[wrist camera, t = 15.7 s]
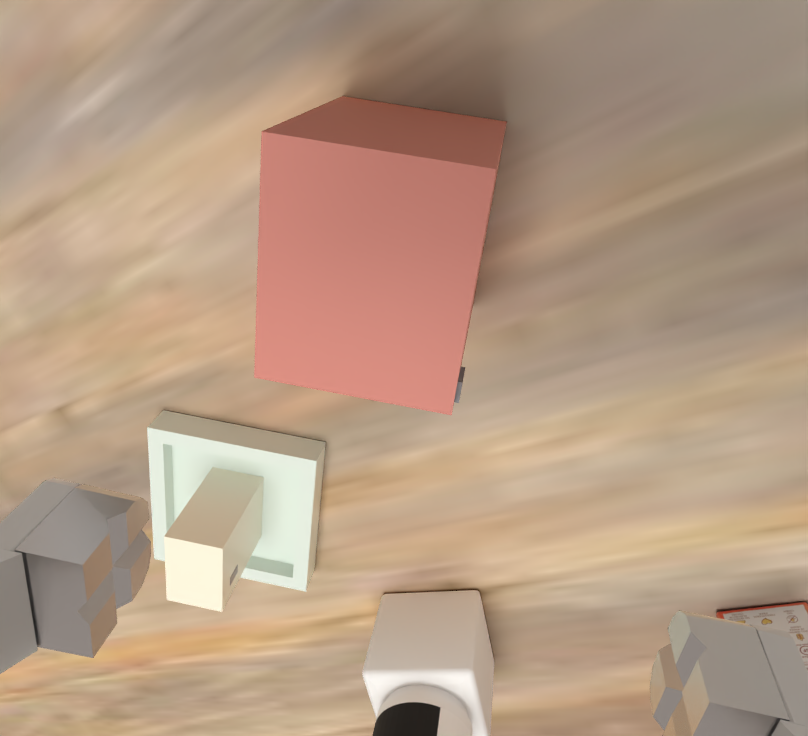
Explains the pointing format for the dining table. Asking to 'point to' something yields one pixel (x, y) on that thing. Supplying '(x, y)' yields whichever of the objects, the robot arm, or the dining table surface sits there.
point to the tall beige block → (213, 539)
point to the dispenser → (372, 249)
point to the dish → (251, 454)
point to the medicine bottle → (430, 665)
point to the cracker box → (777, 621)
